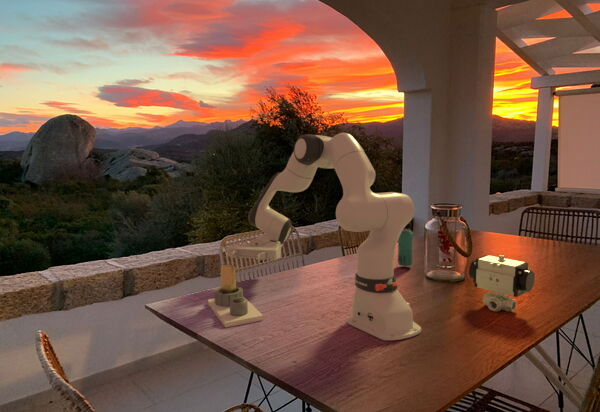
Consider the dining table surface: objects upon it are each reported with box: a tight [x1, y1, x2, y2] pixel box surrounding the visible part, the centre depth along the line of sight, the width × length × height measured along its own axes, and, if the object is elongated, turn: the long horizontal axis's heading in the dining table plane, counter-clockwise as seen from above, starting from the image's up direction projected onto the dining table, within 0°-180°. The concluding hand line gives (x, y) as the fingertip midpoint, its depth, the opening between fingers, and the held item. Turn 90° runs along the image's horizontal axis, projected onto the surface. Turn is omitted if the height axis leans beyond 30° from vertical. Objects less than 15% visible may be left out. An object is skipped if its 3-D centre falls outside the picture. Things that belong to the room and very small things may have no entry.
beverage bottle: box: [397, 222, 414, 267], centre depth 184 cm, size 6×7×20 cm
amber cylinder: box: [220, 264, 237, 294], centre depth 142 cm, size 5×5×12 cm
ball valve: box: [468, 254, 536, 312], centre depth 136 cm, size 18×8×18 cm, turn 40°
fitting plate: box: [207, 285, 264, 328], centre depth 137 cm, size 22×12×6 cm, turn 26°
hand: (244, 256), depth 152 cm, fingers open, 8 cm apart
